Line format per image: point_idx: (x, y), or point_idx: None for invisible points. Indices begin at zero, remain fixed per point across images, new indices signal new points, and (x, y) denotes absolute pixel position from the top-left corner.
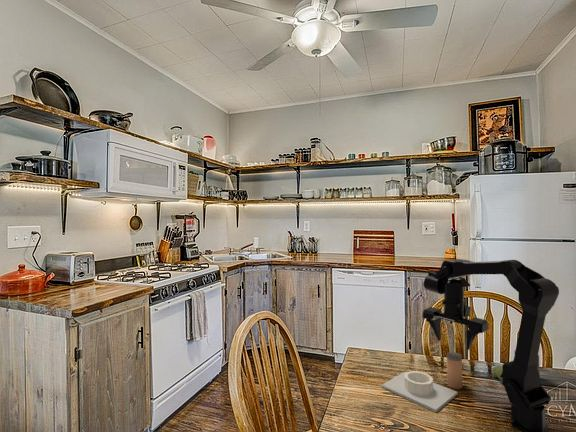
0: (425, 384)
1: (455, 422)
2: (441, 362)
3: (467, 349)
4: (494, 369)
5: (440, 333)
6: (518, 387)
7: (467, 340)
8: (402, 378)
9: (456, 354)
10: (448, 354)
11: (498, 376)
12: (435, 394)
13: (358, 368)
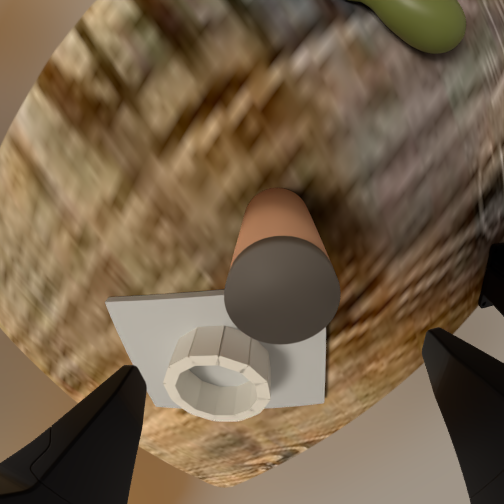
0: (264, 407)
1: (373, 391)
2: (103, 66)
3: (425, 355)
4: None
5: (107, 416)
6: None
7: (463, 452)
8: (144, 348)
9: (289, 276)
10: (249, 323)
11: (393, 29)
12: (280, 355)
13: (53, 361)
